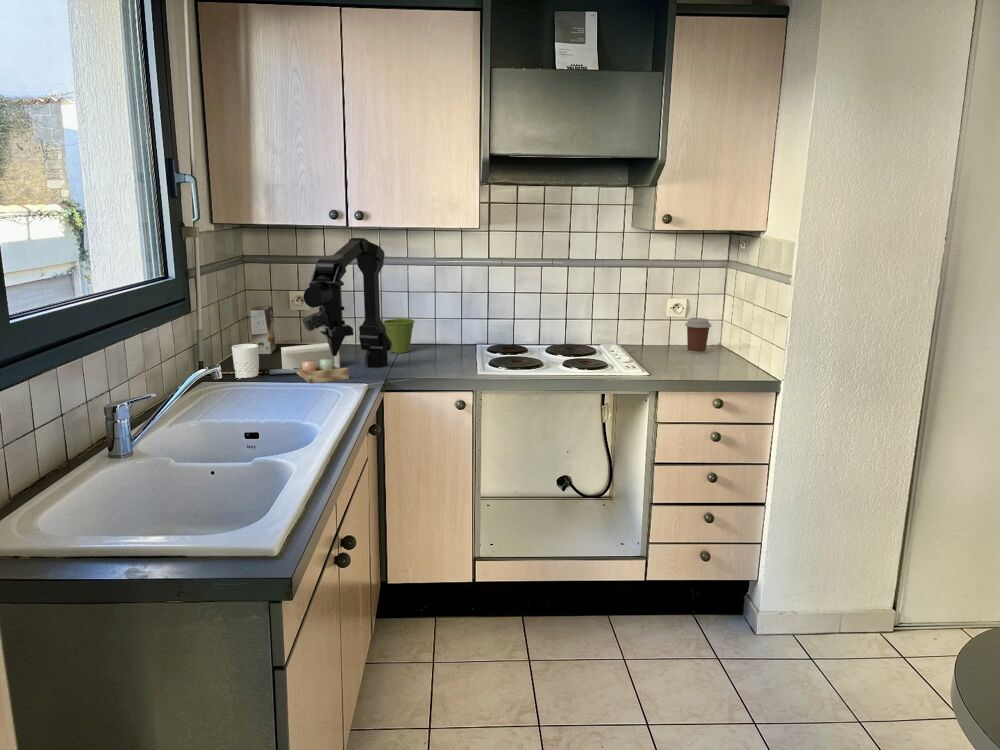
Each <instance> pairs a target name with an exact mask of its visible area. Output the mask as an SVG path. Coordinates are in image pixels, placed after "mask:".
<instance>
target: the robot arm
mask: <svg viewBox="0 0 1000 750" xmlns="http://www.w3.org/2000/svg"><path fill="white" fill-rule="evenodd" d="M354 260H356V264H357V267H358V269H359V270H360V272H361V274H362V279H363V281H362V283H363V302H364V303H363V304H364V307H363V308H364V321H363V322H362V324H361V325H359V327H358V331H359V336H358V338H359V345H360V348H361V351H365V354H364V366H365V368H369V369H373V368H375V369H377V368H379V369H380V368H385V367H388V368H390V366H389V365H388V361H389V360H388V352H390V349H391V345H392V342H391V341H390V339H389V337H388V336H387V334H386V327H385V325H384V323H383V322H382V321H383V320H382V319H381V306H380V303H381V301H380V300H381V298H380V279H379V278H380V277H379V276H380V275H379V274H380V272H381V271H382V268H383V267H384V260H385V251H384V249H382V248H381V247H380V246H379V245H378V244H375V243H373V242H371V241H369V240H368V239H366V238H365V237H351V238H349V239H348V242H347V243H345V244H344V245H343V246H342V247H340V248H339V249H338V250H337V251H336V252H335V253H334V254H331V255H326V256H323V257H321V258H319V259H318V260H317V261H316V263H315V266H314V269H313V272H312V275H311V278H310V282H309V284H308V285H309V286H308V287H307V288H306V289H305V290H304V293H303V301H304V303H305V305H307V306H308V307H310V308H318V311H317V312H314V313H311V314H309V315H306V316H305V317H303V318H302V319H301V321H302V323H303V325H304V326H303V327H304V328H305V330H306V331H308V332H310V331H315V329H317V330H318V329H319V328H321V329H322V330H321V331H319V333H320V334H321V335H323V336H324V337H325V338H326V340H327V343H328V344H329V347H330V350H331V353H332V356H337V353H338V351H339V352H340V348H341V346H342V343H343V342H344V339H345V337H349V336H350V337H351V336H354V328H353V327H352V326H351V325H349V324H347V323H346V321H345V320H344V318H343V317H344V316H343V311H345V306H343V302H342V298H343V297H342V286H343V287H344V285H345V283H344V282H343V281H342V278H343V277H344V275H345V274H346V273H347V267H348V265H349V264H350V263H352V262H353V261H354Z"/></svg>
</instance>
